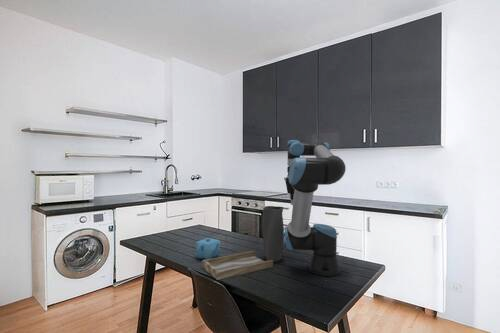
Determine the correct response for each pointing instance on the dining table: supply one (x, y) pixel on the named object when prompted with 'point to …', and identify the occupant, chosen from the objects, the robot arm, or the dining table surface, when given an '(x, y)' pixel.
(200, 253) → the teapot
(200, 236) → the dining table surface
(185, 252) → the dining table surface
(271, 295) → the dining table surface
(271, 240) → the vase
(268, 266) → the tray
